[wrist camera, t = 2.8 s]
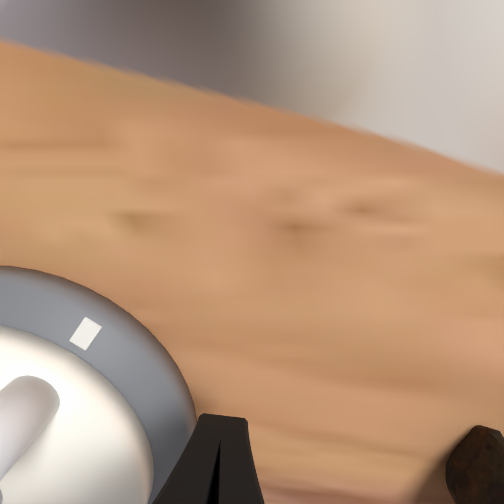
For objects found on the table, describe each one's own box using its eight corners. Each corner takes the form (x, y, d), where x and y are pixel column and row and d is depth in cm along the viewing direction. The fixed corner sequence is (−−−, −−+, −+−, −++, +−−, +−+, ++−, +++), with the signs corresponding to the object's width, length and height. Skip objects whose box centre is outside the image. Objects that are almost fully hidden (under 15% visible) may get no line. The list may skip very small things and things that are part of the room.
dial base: (240, 507, 16) (238, 544, 14) (-24, 560, 17) (-51, 598, 16) (114, 216, 12) (92, 225, 10) (-217, 321, 13) (-280, 342, 12)
